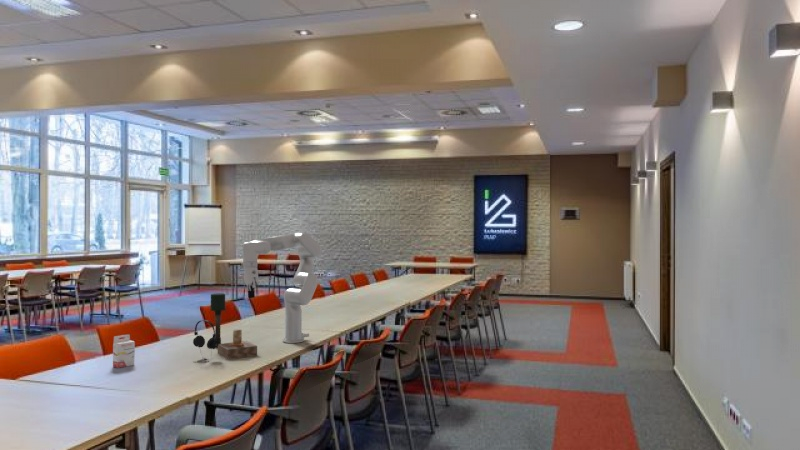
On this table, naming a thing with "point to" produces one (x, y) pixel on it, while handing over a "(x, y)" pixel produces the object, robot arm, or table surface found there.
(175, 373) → the table surface
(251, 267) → the robot arm
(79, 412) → the table surface
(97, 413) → the table surface
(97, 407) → the table surface
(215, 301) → the stick grenade
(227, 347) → the socket block
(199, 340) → the headphones
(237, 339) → the peg
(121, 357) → the ink cartridge box
